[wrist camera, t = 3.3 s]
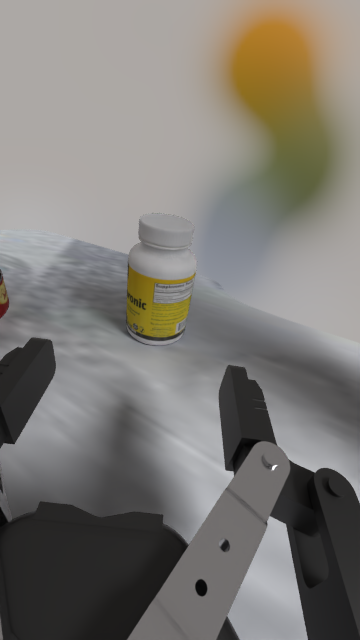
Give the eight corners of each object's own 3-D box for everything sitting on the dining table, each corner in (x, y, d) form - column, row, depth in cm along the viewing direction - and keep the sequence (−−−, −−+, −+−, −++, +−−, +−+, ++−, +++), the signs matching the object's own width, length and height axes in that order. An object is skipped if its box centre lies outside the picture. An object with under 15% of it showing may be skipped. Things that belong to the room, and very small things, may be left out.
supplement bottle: (121, 313, 26) (123, 207, 20) (174, 310, 28) (189, 212, 22) (131, 351, 22) (138, 231, 16) (192, 344, 24) (217, 234, 18)
